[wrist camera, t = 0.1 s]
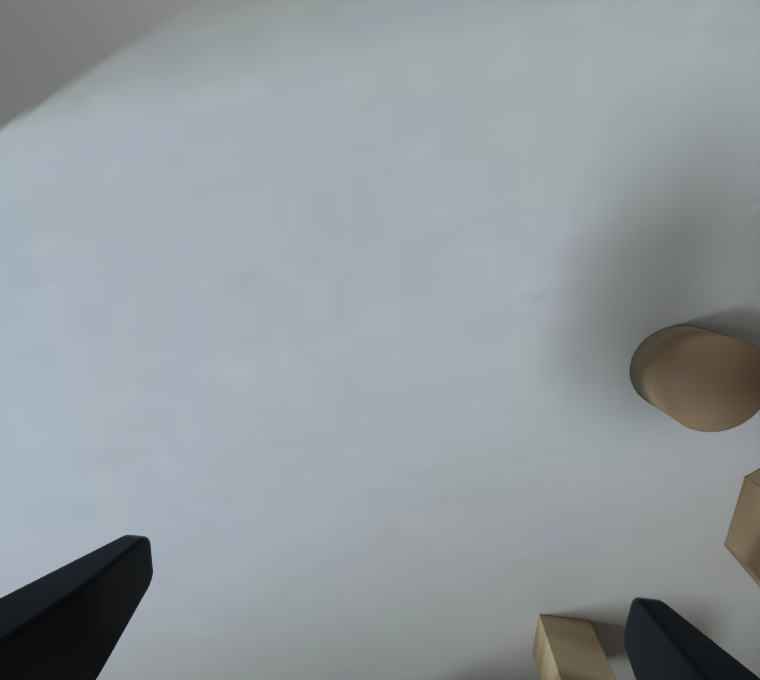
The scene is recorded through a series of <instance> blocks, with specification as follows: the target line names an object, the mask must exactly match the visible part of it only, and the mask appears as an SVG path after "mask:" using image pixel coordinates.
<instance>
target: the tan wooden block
mask: <svg viewBox="0 0 760 680" xmlns="http://www.w3.org/2000/svg"><path fill="white" fill-rule="evenodd" d="M533 656H534V659H535V663H536V666H537V670H538V673H539V677H540V680H616V678H615V675H614V673H613V671H612V669H611V667H610V665H609V662H608V660H607V658H606V656H605V654H604V652H603V649H602V647H601V645H600V643H599V641H598V638H597V636H596V634H595V632H594V630H593V628H592V625H591V623H590V621H587V620H579V619H571V618H563V617H554V616H546V615H539V620H538V625H537V631H536V636H535V642H534V648H533Z"/></svg>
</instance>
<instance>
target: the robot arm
mask: <svg viewBox="0 0 760 680" xmlns="http://www.w3.org/2000/svg"><path fill="white" fill-rule="evenodd" d="M152 575H153V567H152V556H151V545H150V541H149V539H148V538H147V537H144V536H137V535H125V536H123V537H121V538H119V539H117V540H115V541H113V542H111V543H109V544H107V545H105V546H103V547H101V548H99V549H97V550H95V551H93V552H91V553H89V554H87V555H85V556H83V557H81V558H79V559H77V560H75V561H73V562H71V563H69V564H67V565H65V566H63V567H61V568H59V569H57V570H55V571H53V572H51V573H49V574H47V575H45V576H43V577H41V578H40V579H38V580H36V581H34V582H32V583H30V584H28V585H26V586H24V587H22V588H20V589H18V590H16V591H14V592H12V593H10V594H8V595H6V596H4V597H2V598H0V680H96V678H97V677H98V675H99V673H100V672H101V670H102V668H103V667H104V665H105V663H106V662H107V660H108V658H109V656H110V655H111V653H112V651H113V649H114V647H115V646H116V644H117V642H118V640H119V639H120V637H121V635H122V633H123V631H124V630H125V628H126V626H127V624H128V623H129V621H130V619H131V617H132V615H133V614H134V612H135V610H136V608H137V607H138V605H139V603H140V601H141V599H142V598H143V596H144V594H145V592H146V591H147V589H148V587H149V585H150V582H151V579H152ZM624 644H625V648H626V652H627V655H628V658H629V660H630V663H631V666H632V669H633V672H634V675H635V678H636V680H760V678H759V677H757V676H756V675H755V674H754V673H752V672H751V671H750V670H749V669H747V668H746V667H745V666H743V665H742V664H741V663H740V662H738V661H737V660H736V659H735V658H733V657H732V656H731V655H730V654H728V653H727V652H726V651H725V650H723V649H722V648H721V647H719V646H718V645H717V644H716V643H714V642H713V641H712V640H711V639H709V638H708V637H707V636H706V635H704V634H703V633H702V632H701V631H699V630H698V629H697V628H696V627H694V626H693V625H692V624H690V623H689V622H688V621H687V620H685V619H684V618H683V617H682V616H680V615H679V614H678V613H677V612H675V611H674V610H673V609H672V608H670V607H669V606H668V605H666V604H665V603H664V602H662V601H660V600H657V599H649V598H641V597H638V598H635V599H634V600H633V601H632V604H631V607H630V611H629V615H628V619H627V623H626V627H625V631H624Z"/></svg>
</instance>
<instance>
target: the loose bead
mask: <svg viewBox="0 0 760 680" xmlns="http://www.w3.org/2000/svg"><path fill="white" fill-rule="evenodd" d="M630 378H631V382H632V385H633V387H634V389H635V390H636V392H637V393H638V394H639V395H640V396H641V397H642V398H643V399H645V400H646V401H648V402H649V403H651V404H652V405H654V406H655V407H657V408H658V409H660V410H661V411H663V412H664V413H666V414H667V415H669V416H670V417H672V418H673V419H675V420H676V421H678V422H679V423H681V424H682V425H684V426H686V427H688V428H690V429H693V430H697V431H702V432H719V431H724V430H728V429H731V428H734V427H736V426H739V425H740V424H742V423H744V422H746V421H747V420H749V419H750V418H751V417H753V416H754V415H755V414H756V413H757V412H758V411H759V410H760V350H759V349H758V348H756V347H755V346H753V345H752V344H750V343H748V342H745V341H742V340H739V339H735V338H732V337H728V336H725V335H721V334H718V333H714V332H711V331H707V330H704V329H700V328H697V327H693V326H687V325H677V326H671V327H666V328H664V329H661V330H659V331H657V332H655V333H653V334H652V335H650V336H649V337H648V338H646V339H645V340H644V341H643V342H642V343H641V344H640V346H639V347H638V348H637V350H636V351H635V353H634V355H633V358H632V361H631V364H630Z"/></svg>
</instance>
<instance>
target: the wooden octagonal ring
mask: <svg viewBox="0 0 760 680" xmlns="http://www.w3.org/2000/svg"><path fill="white" fill-rule="evenodd" d="M725 547H726V548H727V549H728V550H729V551H730V552H731V553H732V555H733V556H734V557H735V558H736V559H737V560H738V562H739V563H740V564H741V565H742V566H743V568H744V569H745V570H746V571H747V572H748V574H749V575H750V576H751V577H752V578H753V579H754V581H755V582H756V583H757V584H758V585H759V587H760V469H759V470H757V471H755V472H753V473H752V474H750V475H748V476H747V477H745V479H744V483H743V486H742V489H741V493H740V496H739V499H738V503H737V506H736V509H735V513H734V516H733V519H732V523H731V526H730V529H729V532H728V536H727V539H726V542H725Z"/></svg>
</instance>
